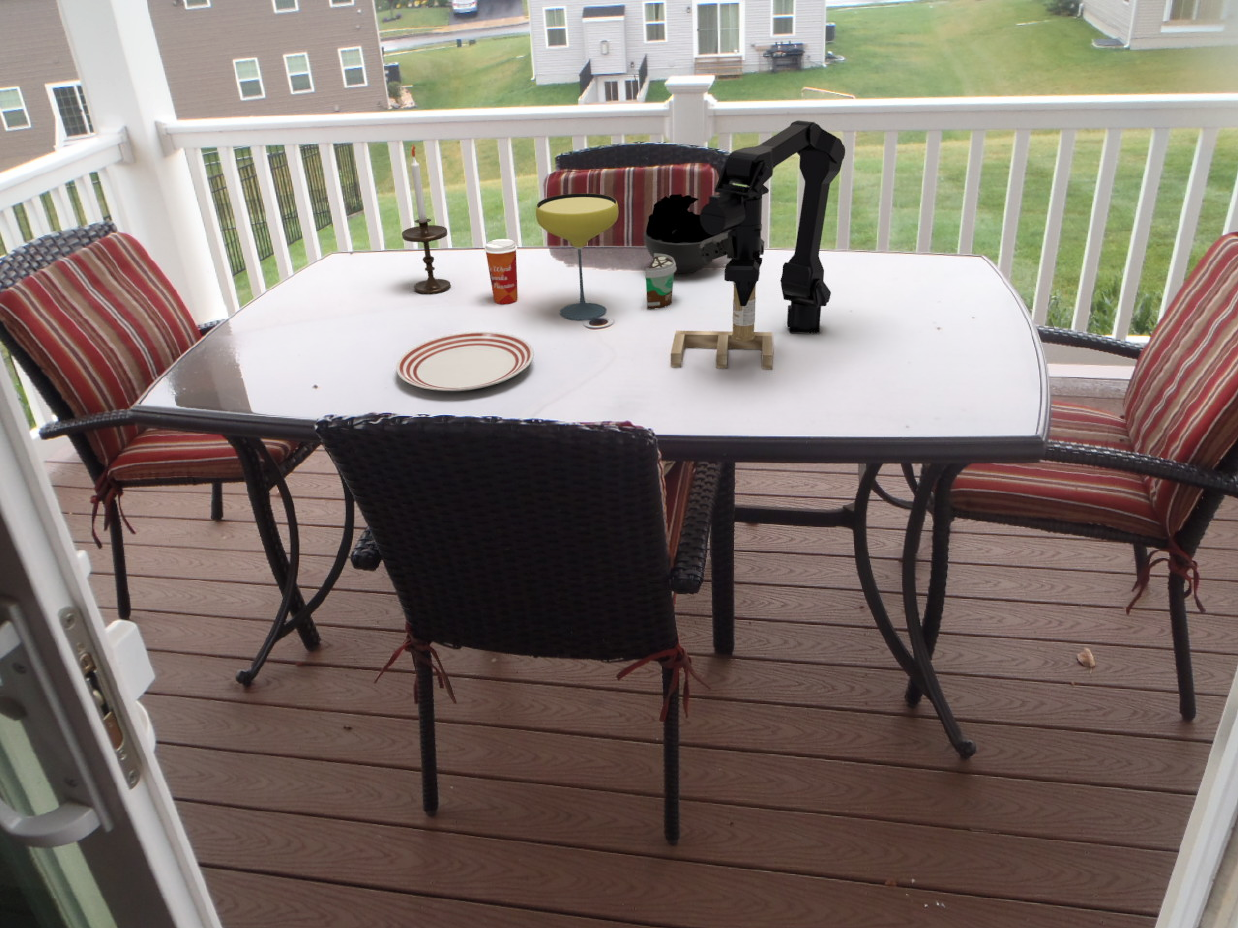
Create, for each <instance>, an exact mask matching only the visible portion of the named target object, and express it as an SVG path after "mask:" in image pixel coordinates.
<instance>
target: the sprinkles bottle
mask: <svg viewBox="0 0 1238 928" xmlns="http://www.w3.org/2000/svg"><path fill="white" fill-rule="evenodd" d="M732 284H733V299H732V332H733V334H732V338H733V339H734V340H736V341H750V340H752V339H754V337H755V334H754V332H755V323H756V302H757V301H756V297H757V296H756V288H757V284H756V285H755V287H754V289H753V291H752V294H751V296H750V298H749V300H748V303H747V305H746V306H740V302H739V298H738V293H737V289H736V285H735V283H734V282H733V281H732Z"/></svg>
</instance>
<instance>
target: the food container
mask: <svg viewBox="0 0 1238 928" xmlns="http://www.w3.org/2000/svg"><path fill="white" fill-rule="evenodd" d="M652 259H653V258H652ZM676 269H677V268H676V264H675V261H674V259H673V258H672V257H671V256H668V255H665V254H657V253H654V259H653V260H651V262H650V264H649V265H648V267H646V268H645V272H644V273H645V275H644V276H645V285H646V287H645V289H646V291H645V292H646V308H647V310H656V309H655V308H659V309H663V308H666V307H669V306H670V305H671V304H672V303H673V302H672V301H673V289H674V288H673V287H674V274H675V273H676V272H675V271H676ZM668 305H669V306H668ZM665 306H666V307H665Z"/></svg>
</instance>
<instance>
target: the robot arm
mask: <svg viewBox="0 0 1238 928" xmlns="http://www.w3.org/2000/svg"><path fill="white" fill-rule="evenodd" d="M795 154H797V155H798V156H799V162H798V163H799V165H798V166H799V170H800V173H801V175H802V178H803V181H804V187H803V188H804V189H803V194H802V202H801V208H800V216H799V221H798V222H799V223H798V227H797V228H798V229H797V235H796V242H795V248H794V253H793V255H792V256H791V257H790V259H789V261H785V262H784V263H783V265H782V273H781V277H780V281H779V282H780V288H781V292H782V297H783V300H784V301H790V304H789V305H787V314H786V315H787V317H786V327H787V328H788V331H789V334H820V333H821V326H820V325H821V313H822V312H821V311H822V307H826V306H827V303H828V304H829V302H830V300H831V295H832V292H831V290H830V288H829V287H828V286H827V284H826V282H825V281H824V277H825V275H824V274H825V269H824V267H823V264H822V261H821V259H820V250H821V242H822V236H823V231H824V225H825V224H824V223H825V218H826V217H825V216H826V211H827V204H828V198H829V193H830V192H829V191H830V186H831V183H832V182H833V181H834V180H835V178H836V177H837V176H838V174H840V171H841V168H842V165H843V161H844V159H845V156H846V147H845V144H843V142H842V139H840V138H839V137H837V136H836V135H834V134H832V133H830V132H828V131H826V130H825V129H823V128H822V127H821V126H820V125H819V124H818V123H816V122H815V121H808V120H807V121H806V120H800V119H799V120H795V121H792V122H791V123H790V124H789V126H787V127H786V128H784V129H783V130H781V131H779V132H778V133H776V134H775V135H773V136H772V137H770V138H768V139H767V140H765V141H763V142H762V143H761V144H758V145H755V146H746V147H741V148H739V149H736V150H733V151H731V152H730V154H729V155H728V157H727V158H726V160H725V163H724V166H723V167H722V170H721V173H720V174H719V175H720V176H719V177H718V180H717V183H716V185H715V187H714V193H718V194H712V195H710V196H709V197H708V203H706V204H705V205H704V206H703V207H702V208H701V211H700V213H699V215H700V222H701V225H702V227H703V229H704V230H705V231H706V232H707V233H708V234H710V235H717V236H714V237H711V238H709V239H706V240H704V241H702V242H701V244H700V247H699V248H700V250H701V257H703V258H704V261H705V262H706V263H707V262H710V263H712V261H713V260H717V259H719V258H722V257H725V256H726V257H727V258H726V259H730V261H728V262H727V263H726V265H725V267H724V277H723V278H724V281H725V282H732V283H733V282H734V283H735V285H736V289H737V293H738V298H739V302H740V306H746V305H747V303H748V300H749V298H750V296H751V294H752V291H753V289H754V287H755V285H756V286H757V283H758V282H759V281H760V280H759V279H760V274H761V273H760V269H761V266H762V263H763V257H761V256H762V255H764V253H765V241H764V240H763V239H762V232H763V231H762V230H763V223H762V221H763V220H762V218H763V217H762V215H763V195H766V194H768V193H769V191H770V190H769V188H768V187H767V186H765V185H764V184H765V183H766V182H767V181H769V179H770V178H771V177H772V176H773V174H774V169H775V168H776V167H777V166H778V165H780V164H781V163H782V162H785V161H786V160H788V159H789V158H791V157H793V155H795ZM723 232H724V234H721V233H723ZM718 234H720V235H718Z"/></svg>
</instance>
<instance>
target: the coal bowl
mask: <svg viewBox="0 0 1238 928" xmlns="http://www.w3.org/2000/svg"><path fill="white" fill-rule="evenodd" d="M698 200H699V198H698V197H697V198H696V197H692V196H691V194H690V195H689V194H687V195H684V196H683V195H682V193H678V194H674V193H673V194H670V195H669V196H666V195H665V196H663V198H661V199H660V200H658V201H656V202H655V203H654V204H653V208H652V213H651V214H650V215H648V220H647V221H648V222H647V225H646V230H645V231H644V233H643V238H644V239H643V240H644V245H645V247H646V249H647V252H648V253H649V255H650V257H651V258H652V259H654V253H657V254H665V255H668V256H671V257H672V258H673V259H674V261H675V264H676V268H677V269H676V271H675V272H674V273H678V274H689V273H694V272H697V271H699V270H701V269H703V268H705V267H706V266H708V265H709V264H710V263H711V262H707V263H706V262H705V261H704V258H703V257H701V250H700V248H699V247H700V244H701V242H702V241H704V240H706V239H709V238H711V237H714V236H717V235H710V234H708V233H707V232H706V231H705V230H704V229H703V227H702V225H701V222H700V214H698V213H695V212H694V211H689V208H690V207H691V205H692V204H694V203H695V202H697V201H698ZM724 233H725V232H723V233H721V234H724ZM718 235H720V234H718Z"/></svg>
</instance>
